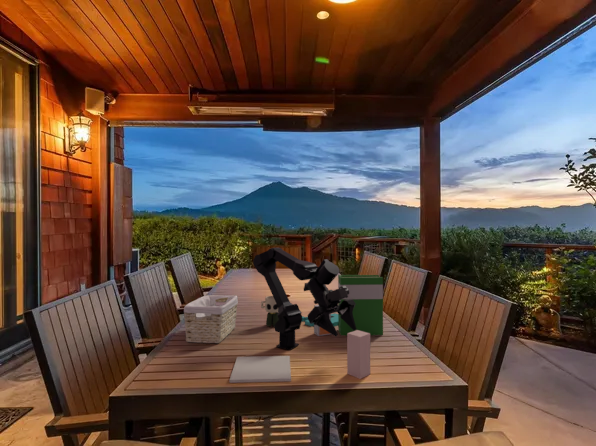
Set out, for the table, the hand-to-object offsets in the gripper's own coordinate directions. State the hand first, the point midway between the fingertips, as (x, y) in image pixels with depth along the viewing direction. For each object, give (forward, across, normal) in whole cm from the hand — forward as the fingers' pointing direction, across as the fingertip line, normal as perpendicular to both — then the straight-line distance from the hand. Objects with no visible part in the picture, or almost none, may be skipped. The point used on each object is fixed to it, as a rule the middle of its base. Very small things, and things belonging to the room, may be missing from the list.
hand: (346, 332), depth 113 cm
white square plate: (-5, -20, +21) cm, 29 cm away
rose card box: (+12, 0, +5) cm, 13 cm away
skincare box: (-13, +21, +29) cm, 38 cm away
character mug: (-30, +13, +46) cm, 57 cm away
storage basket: (-35, -14, +51) cm, 63 cm away
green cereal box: (-6, +34, +23) cm, 41 cm away
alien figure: (-23, +35, +40) cm, 58 cm away
